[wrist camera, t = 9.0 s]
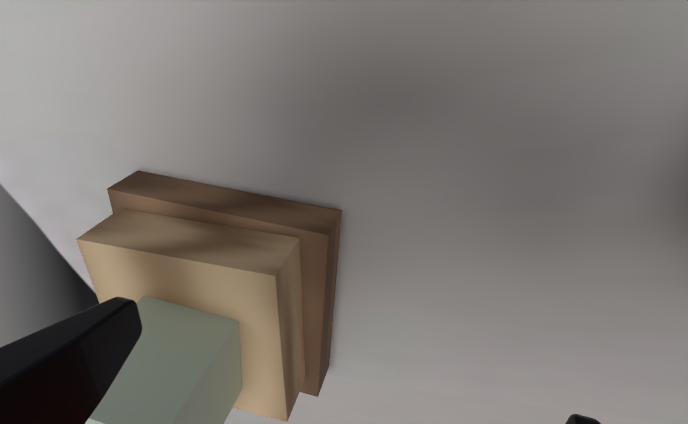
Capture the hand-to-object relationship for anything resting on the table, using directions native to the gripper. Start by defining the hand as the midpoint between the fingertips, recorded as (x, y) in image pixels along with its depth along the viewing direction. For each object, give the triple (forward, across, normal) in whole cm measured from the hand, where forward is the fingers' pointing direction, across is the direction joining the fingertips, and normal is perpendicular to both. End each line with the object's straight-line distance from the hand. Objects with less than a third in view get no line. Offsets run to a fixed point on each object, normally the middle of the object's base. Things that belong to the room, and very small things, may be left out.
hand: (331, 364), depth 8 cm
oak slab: (+10, +9, +10) cm, 17 cm away
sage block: (+7, +9, +10) cm, 15 cm away
